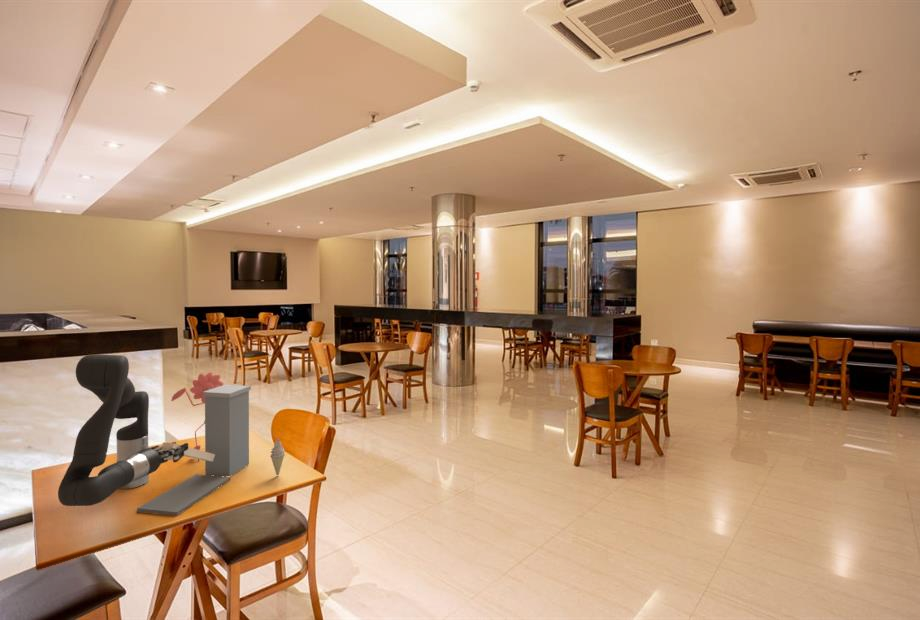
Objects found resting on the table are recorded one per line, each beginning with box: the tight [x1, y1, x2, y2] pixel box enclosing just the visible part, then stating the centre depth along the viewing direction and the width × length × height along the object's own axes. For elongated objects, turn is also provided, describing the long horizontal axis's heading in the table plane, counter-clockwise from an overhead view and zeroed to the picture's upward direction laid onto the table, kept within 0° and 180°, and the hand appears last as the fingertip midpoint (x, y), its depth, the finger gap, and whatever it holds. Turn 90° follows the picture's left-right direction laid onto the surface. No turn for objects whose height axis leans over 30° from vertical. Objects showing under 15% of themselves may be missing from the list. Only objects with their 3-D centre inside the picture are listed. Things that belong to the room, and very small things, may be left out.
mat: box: [136, 473, 231, 517], centre depth 154 cm, size 26×14×1 cm, turn 172°
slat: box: [161, 442, 215, 462], centre depth 154 cm, size 22×4×2 cm, turn 173°
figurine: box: [171, 371, 224, 462], centre depth 190 cm, size 15×26×35 cm, turn 130°
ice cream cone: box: [270, 437, 286, 476], centre depth 170 cm, size 5×5×15 cm
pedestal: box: [203, 384, 252, 477], centre depth 174 cm, size 13×11×32 cm
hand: (180, 445), depth 150 cm, fingers closed on slat, 4 cm apart
